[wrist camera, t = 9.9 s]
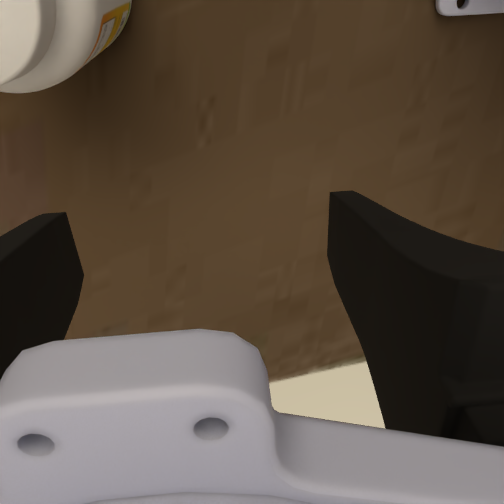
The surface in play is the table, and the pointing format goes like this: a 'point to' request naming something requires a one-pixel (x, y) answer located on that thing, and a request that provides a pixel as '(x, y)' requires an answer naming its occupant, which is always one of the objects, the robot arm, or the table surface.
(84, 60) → the supplement bottle
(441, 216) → the table surface
